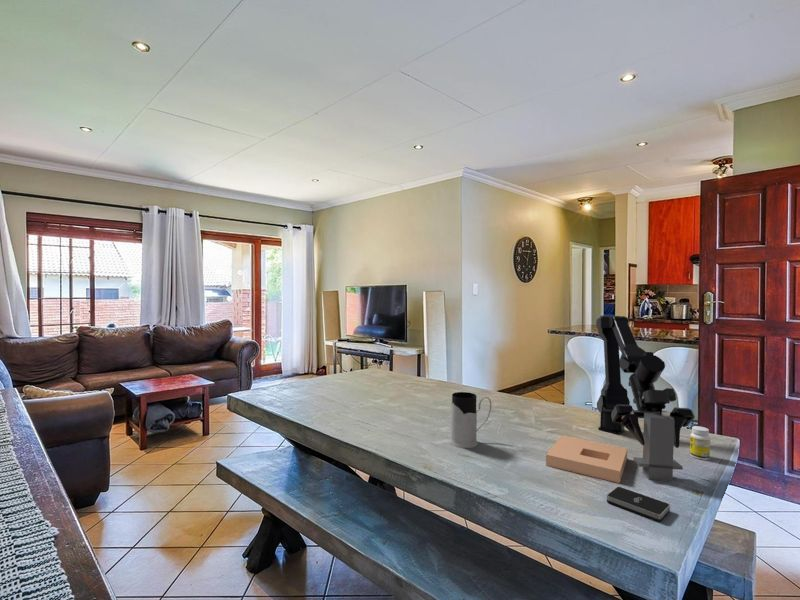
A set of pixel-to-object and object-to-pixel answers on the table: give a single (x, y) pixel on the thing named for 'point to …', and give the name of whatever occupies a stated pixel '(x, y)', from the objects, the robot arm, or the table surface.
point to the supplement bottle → (700, 443)
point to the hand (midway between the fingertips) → (660, 446)
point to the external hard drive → (638, 504)
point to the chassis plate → (588, 458)
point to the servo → (658, 447)
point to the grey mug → (465, 419)
